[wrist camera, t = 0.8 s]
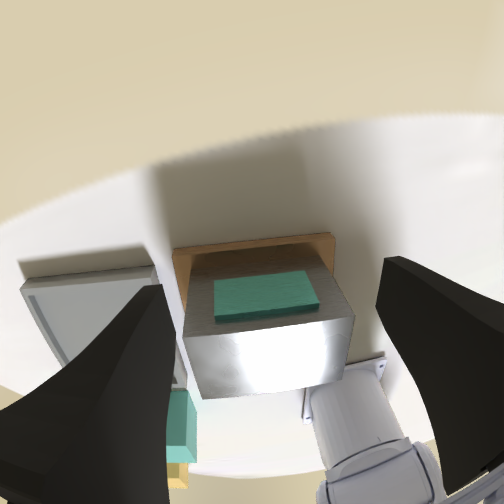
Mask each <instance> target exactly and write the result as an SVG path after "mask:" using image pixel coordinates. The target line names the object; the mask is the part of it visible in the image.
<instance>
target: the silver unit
mask: <svg viewBox="0 0 504 504" xmlns="http://www.w3.org/2000/svg"><path fill="white" fill-rule="evenodd" d="M334 252H335V238H334V237H333V235H332V234H331V233H330V232H329V233H319V234H309V235H299V236H289V237H280V238H270V239H261V240H251V241H242V242H233V243H223V244H214V245H205V246H196V247H187V248H178V249H174V250H173V254H172V260H173V264H174V269H175V273H176V278H177V282H178V286H179V291H180V295H181V299H182V303H183V307H184V311H185V319H184V327H183V337H182V338H183V342H184V345H185V348H186V351H187V355H188V358H189V361H190V364H191V367H192V370H193V373H194V376H195V379H196V382H197V385H198V388H199V391H200V394H201V397H202V399H216V398H228V397H239V396H248V395H257V394H265V393H272V392H279V391H286V390H292V389H298V388H304V387H309V386H315V385H320V384H325V383H330V382H335V381H339V380H342V377H343V373H344V368H345V364H346V359H347V355H348V350H349V345H350V340H351V335H352V330H353V324H354V319H355V314H354V313H353V311H352V309H351V307H350V306H349V304H348V302H347V300H346V299H345V297H344V295H343V294H342V292H341V290H340V288H339V287H338V285H337V283H336V282H335V280H334V278H333V266H334Z"/></svg>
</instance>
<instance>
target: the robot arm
mask: <svg viewBox="0 0 504 504" xmlns="http://www.w3.org/2000/svg"><path fill="white" fill-rule="evenodd" d="M375 307H376V309H377V312H378V314H379V317H380V319H381V322H382V324H383V326H384V328H385V331H386V332H387V334H388V336H389V337H390V339H391V341H392V343H393V344H394V346H395V348H396V349H397V351H398V353H399V355H400V356H401V358H402V360H403V361H404V363H405V365H406V367H407V368H408V370H409V372H410V374H411V375H412V377H413V379H414V381H415V383H416V385H417V387H418V389H419V392H420V394H421V397H422V399H423V402H424V405H425V407H426V410H427V413H428V416H429V419H430V422H431V426H432V429H433V432H434V436H435V440H436V444H437V448H438V453H439V458H440V464H441V471H442V474H441V471H440V468H439V466H438V463H437V461H436V459H435V457H434V455H433V453H432V451H431V450H430V448H429V447H428V446H427V445H426V444H424V443H420V442H419V441H417V442H415V443H413V444H411V442H410V439H409V437H406V438H405V436H404V434H403V432H402V430H401V427H400V425H399V423H398V421H397V419H396V416H395V414H394V412H393V410H392V408H391V406H390V404H389V401H388V399H387V397H386V395H385V393H384V391H383V389H382V387H381V385H380V383H379V382H380V379H381V377H382V374H383V371H384V368H385V366H386V363H387V359H386V357H380V358H376V359H372V360H368V361H364V362H360V363H355V364H351V365H346V366H345V368H344V373H343V377H342V380H339V381H335V382H330V383H325V384H320V385H315V386H309V387H306V396H305V405H304V413H303V424H310V423H312V424H313V428H314V432H315V435H316V439H317V443H318V447H319V450H320V454H321V458H322V461H323V464H324V466H325V468H326V469H327V471H325V475H326V478H327V480H324V481H322V482H321V483H320V485H319V487H318V489H317V492H316V502H317V504H477V503H478V502H480V501H481V500H483V499H484V498H485V499H484V502H483V504H504V304H503V303H501V302H498V301H495V300H493V299H490V298H488V297H485V296H483V295H481V294H479V293H476V292H474V291H472V290H470V289H468V288H466V287H464V286H462V285H460V284H458V283H456V282H454V281H452V280H450V279H448V278H446V277H444V276H442V275H440V274H438V273H436V272H434V271H432V270H430V269H428V268H426V267H424V266H422V265H420V264H418V263H416V262H413V261H411V260H409V259H406V258H404V257H401V256H395V257H388V258H384V263H383V269H382V275H381V280H380V286H379V291H378V296H377V301H376V306H375ZM175 354H176V331H175V328H174V325H173V321H172V318H171V315H170V311H169V308H168V304H167V300H166V297H165V293H164V289H163V286H162V284H156V285H146V286H143V287H142V288H141V289H140V290H139V291H138V292H137V293H136V294H135V295H134V296H133V297H132V298H131V300H130V301H129V302H128V303H127V304H126V305H125V306H124V307H123V309H122V310H121V311H120V312H119V313H118V314H117V315H116V316H115V317H114V319H113V320H112V321H111V322H110V323H109V324H108V325H107V326H106V327H105V328H104V329H103V330H102V331H101V332H100V333H99V334H98V335H97V336H96V338H95V339H94V340H93V341H92V342H91V343H90V344H89V345H88V346H87V347H86V348H85V349H84V350H83V351H82V352H80V353H79V354H78V355H77V356H76V357H75V358H74V359H73V360H72V361H70V362H69V363H68V364H67V365H66V366H65V367H64V368H62V369H61V370H60V371H59V372H57V373H56V374H55V375H53V376H52V377H51V378H49V379H48V380H47V381H45V382H44V383H43V384H41V385H40V386H39V387H37V388H36V389H35V390H33V391H32V392H30V393H29V394H27V395H26V396H24V397H23V398H21V399H19V400H18V401H16V402H14V403H13V404H11V405H9V406H8V407H6V408H4V409H2V410H0V496H1V497H2V498H4V499H6V500H7V501H8V502H7V504H170V502H169V501H170V500H169V490H168V478H167V458H166V427H167V415H168V408H169V401H170V393H171V387H172V380H173V373H174V366H175ZM488 471H489V473H488V474H487V475H485V476H484V477H482V478H481V479H479V480H478V481H476V482H475V483H473V484H471V485H470V486H469V487H467V488H465V489H463V490H462V491H460V492H458V493H456V494H455V495H453V496H451V497H449V498H447V497H446V494H447V495H448V496H449V495H450V494H452V493H454V492H456V491H458V490H459V489H461V488H463V487H464V486H466V485H468V484H469V483H471V482H472V481H474V480H476V479H477V478H479V477H480V476H482V475H483V474H485V473H486V472H488ZM444 489H445V490H444ZM445 492H446V493H445Z"/></svg>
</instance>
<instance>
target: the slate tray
mask: <svg viewBox="0 0 504 504" xmlns="http://www.w3.org/2000/svg"><path fill="white" fill-rule="evenodd" d="M156 284H159V280H158V276H157V272H156V268H155V265H152V266H142V267H133V268H124V269H114V270H105V271H95V272H86V273H76V274H67V275H57V276H48V277H38V278H29V279H27V280H26V282H25V283H24V284H23V285H22V287H21V288H20V289H19V290H20V292H21V294H22V296H23V298H24V300H25V302H26V304H27V306H28V308H29V310H30V312H31V314H32V316H33V318H34V320H35V322H36V324H37V326H38V327H39V329H40V331H41V333H42V335H43V336H44V338H45V340H46V342H47V343H48V345H49V347H50V348H51V350H52V352H53V353H54V355H55V357H56V358H57V360H58V361H59V363H60V365H61V366H62V368H64V367H65V366H66V365H67V364H68V363H69V362H70V361H72V360H73V359H74V358H75V357H76V356H77V355H78V354H79V353H80V352H82V351H83V350H84V349H85V348H86V347H87V346H88V345H89V344H90V343H91V342H92V341H93V340H94V339H95V338H96V336H97V335H98V334H99V333H100V332H101V331H102V330H103V329H104V328H105V327H106V326H107V325H108V324H109V323H110V322H111V321H112V320H113V319H114V317H115V316H116V315H117V314H118V313H119V312H120V311H121V310H122V309H123V307H124V306H125V305H126V304H127V303H128V302H129V301H130V300H131V298H132V297H133V296H134V295H135V294H136V293H137V292H138V291H139V290H140V289H141V288H142V287H143V286H146V285H156ZM171 388H187V372H186V369H185V366H184V363H183V360H182V357H181V354H180V351H179V348H178V345H177V342H176V354H175V366H174V373H173V380H172V387H171Z"/></svg>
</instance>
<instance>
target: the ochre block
mask: <svg viewBox="0 0 504 504" xmlns="http://www.w3.org/2000/svg"><path fill="white" fill-rule="evenodd" d="M167 478H168V488H188V463H167Z"/></svg>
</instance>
